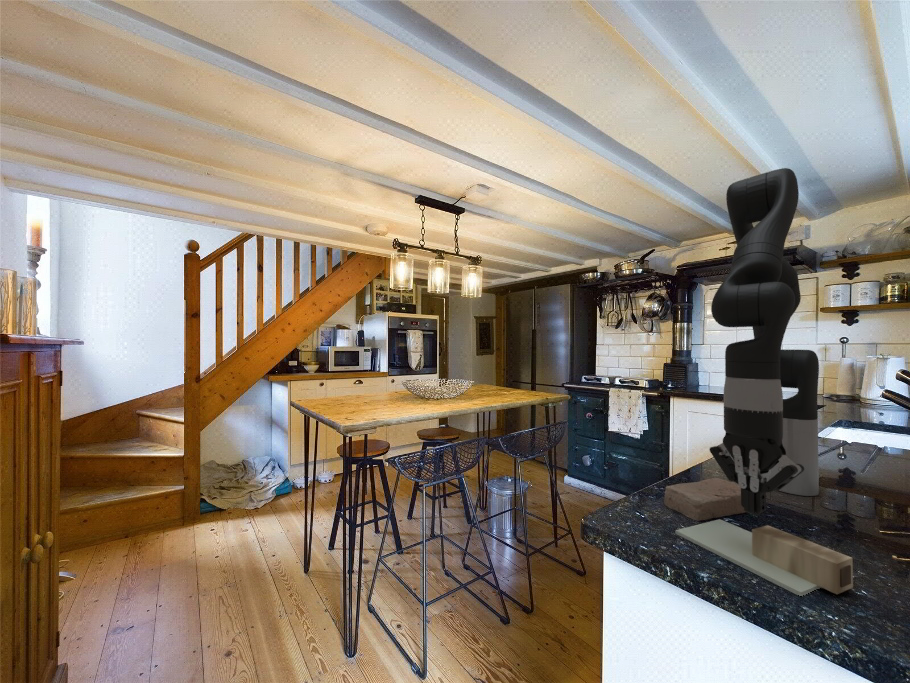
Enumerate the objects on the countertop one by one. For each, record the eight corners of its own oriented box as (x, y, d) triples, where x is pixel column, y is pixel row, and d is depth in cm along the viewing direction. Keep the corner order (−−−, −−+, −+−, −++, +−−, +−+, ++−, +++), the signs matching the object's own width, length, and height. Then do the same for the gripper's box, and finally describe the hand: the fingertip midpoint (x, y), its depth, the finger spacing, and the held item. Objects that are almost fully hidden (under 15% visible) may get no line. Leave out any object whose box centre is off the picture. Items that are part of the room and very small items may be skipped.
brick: (698, 523, 70) (698, 498, 70) (661, 505, 78) (661, 483, 78) (758, 512, 75) (758, 489, 76) (718, 497, 83) (718, 476, 83)
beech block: (767, 525, 59) (853, 558, 50) (767, 550, 59) (854, 588, 50) (752, 529, 58) (838, 564, 49) (752, 554, 58) (838, 595, 48)
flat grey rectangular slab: (719, 522, 70) (719, 519, 70) (848, 576, 53) (848, 572, 53) (675, 533, 66) (675, 530, 66) (801, 596, 49) (801, 592, 49)
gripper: (817, 411, 55) (818, 527, 55) (724, 399, 67) (725, 494, 67) (787, 413, 52) (789, 536, 52) (696, 401, 65) (697, 500, 64)
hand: (753, 512), depth 60 cm, fingers closed
